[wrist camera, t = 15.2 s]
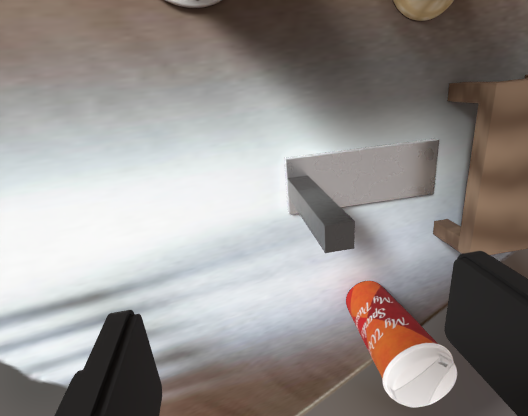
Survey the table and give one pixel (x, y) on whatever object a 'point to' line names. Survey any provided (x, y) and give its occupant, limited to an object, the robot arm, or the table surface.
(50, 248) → the table surface
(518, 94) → the walnut bench
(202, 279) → the table surface
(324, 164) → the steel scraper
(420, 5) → the hand bell
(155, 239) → the table surface
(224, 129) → the table surface
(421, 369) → the coffee cup
